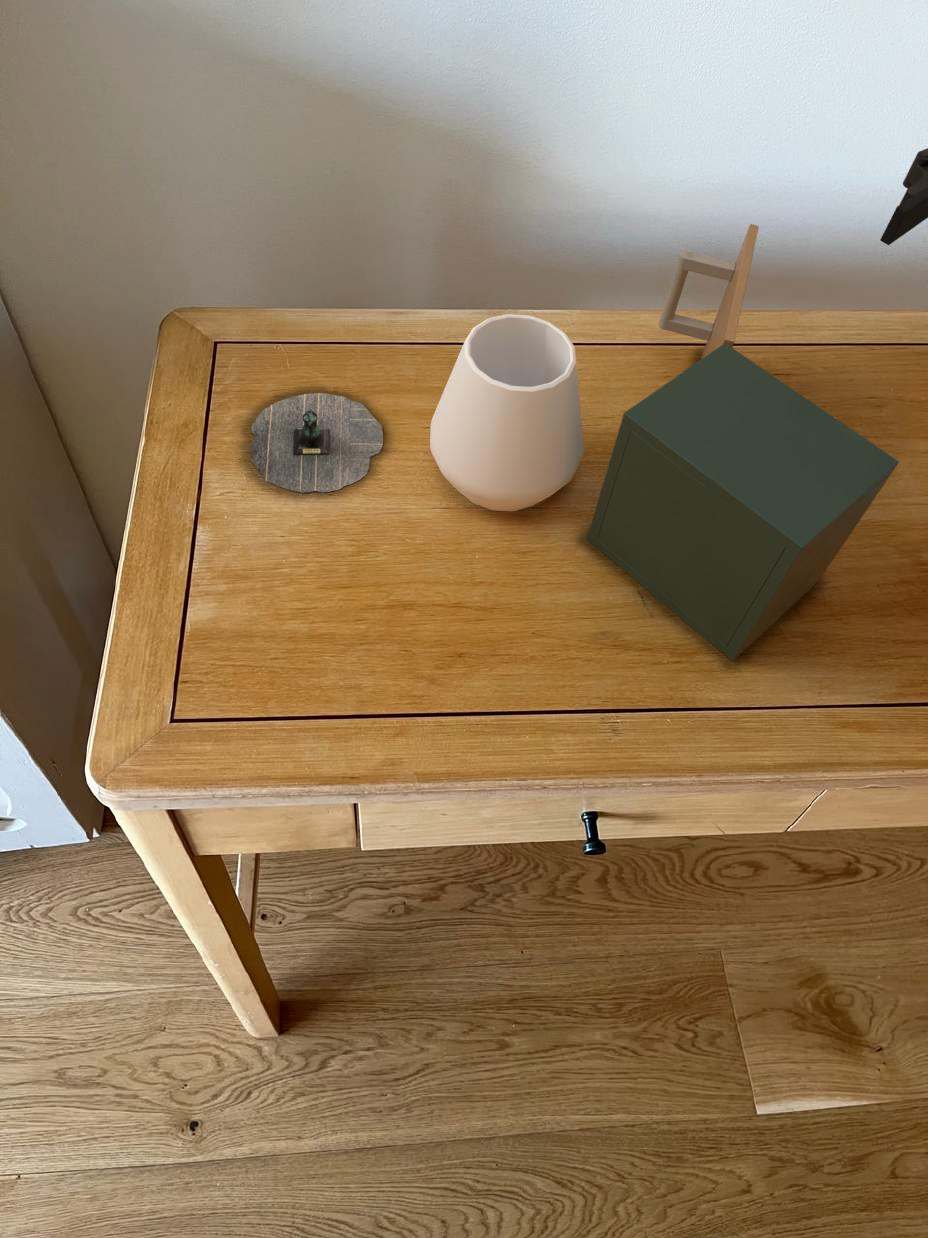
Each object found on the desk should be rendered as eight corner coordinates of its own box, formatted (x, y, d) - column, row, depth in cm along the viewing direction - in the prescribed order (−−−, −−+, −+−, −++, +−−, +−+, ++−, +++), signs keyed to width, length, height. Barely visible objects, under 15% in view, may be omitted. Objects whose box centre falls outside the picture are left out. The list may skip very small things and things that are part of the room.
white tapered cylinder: (397, 481, 82) (398, 359, 70) (481, 396, 88) (495, 271, 76) (525, 556, 78) (549, 440, 67) (602, 461, 85) (637, 341, 73)
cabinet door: (621, 451, 85) (660, 322, 73) (652, 341, 94) (693, 209, 82) (684, 468, 85) (734, 341, 72) (710, 356, 93) (759, 225, 81)
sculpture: (291, 515, 79) (248, 429, 76) (263, 505, 87) (224, 427, 84) (408, 454, 83) (372, 369, 80) (371, 450, 91) (337, 372, 88)
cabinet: (674, 472, 85) (725, 342, 72) (818, 581, 79) (899, 461, 66) (586, 539, 80) (623, 412, 67) (732, 661, 74) (802, 548, 61)
